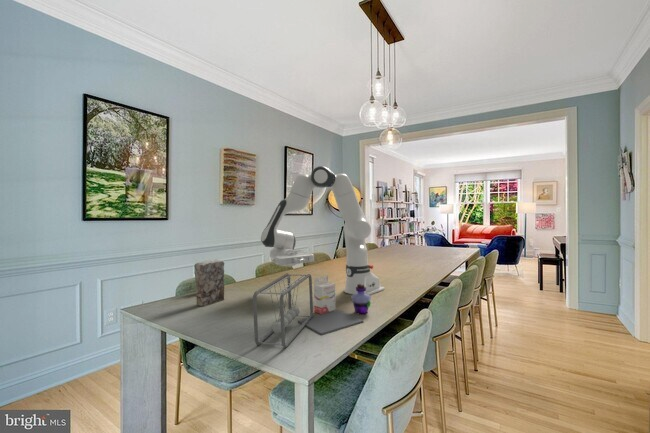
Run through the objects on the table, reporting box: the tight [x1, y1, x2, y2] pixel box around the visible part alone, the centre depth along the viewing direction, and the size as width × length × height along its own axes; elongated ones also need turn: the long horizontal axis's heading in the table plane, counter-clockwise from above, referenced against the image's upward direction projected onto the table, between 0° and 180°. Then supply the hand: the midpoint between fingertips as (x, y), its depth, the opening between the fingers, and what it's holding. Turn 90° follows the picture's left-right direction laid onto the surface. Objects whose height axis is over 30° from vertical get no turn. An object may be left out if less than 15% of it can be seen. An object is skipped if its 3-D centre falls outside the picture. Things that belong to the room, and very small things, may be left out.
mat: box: [297, 309, 365, 336], centre depth 120 cm, size 20×16×1 cm
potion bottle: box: [350, 284, 372, 315], centre depth 131 cm, size 9×9×12 cm
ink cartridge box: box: [313, 275, 336, 315], centre depth 133 cm, size 9×5×15 cm, turn 135°
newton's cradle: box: [252, 272, 314, 348], centre depth 112 cm, size 30×10×18 cm, turn 165°
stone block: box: [193, 259, 225, 307], centre depth 149 cm, size 13×7×20 cm, turn 153°
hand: (302, 261), depth 147 cm, fingers closed
